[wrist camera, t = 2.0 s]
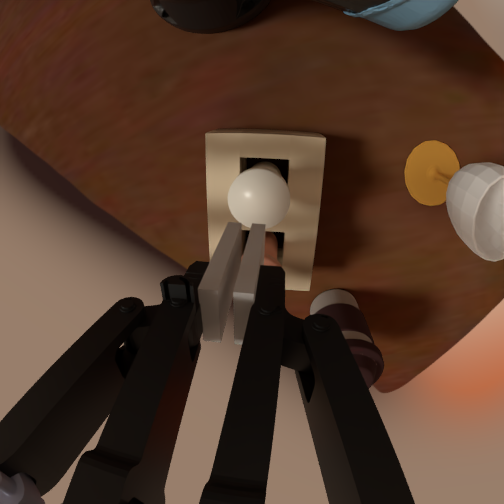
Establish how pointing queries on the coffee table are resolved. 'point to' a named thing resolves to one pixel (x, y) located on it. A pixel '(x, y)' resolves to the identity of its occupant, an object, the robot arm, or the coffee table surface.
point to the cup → (461, 195)
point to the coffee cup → (352, 331)
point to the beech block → (298, 180)
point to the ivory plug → (259, 196)
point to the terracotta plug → (270, 250)
